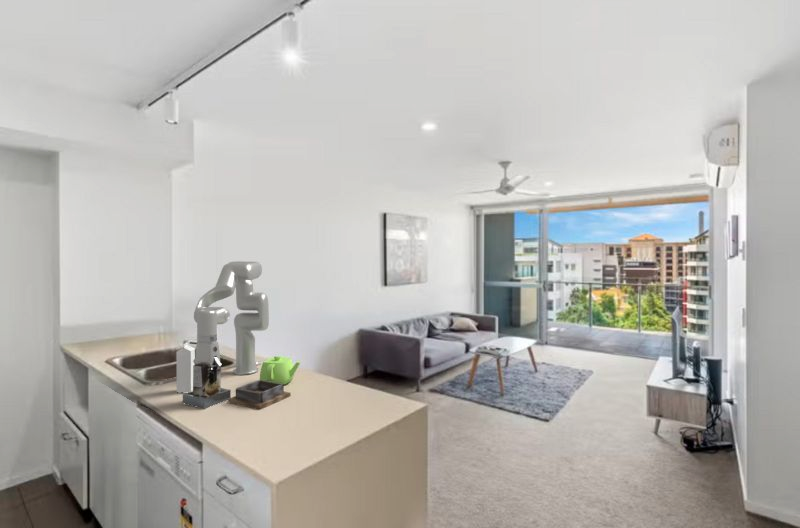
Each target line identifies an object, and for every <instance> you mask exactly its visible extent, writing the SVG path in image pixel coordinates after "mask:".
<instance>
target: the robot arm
mask: <svg viewBox="0 0 800 528" xmlns="http://www.w3.org/2000/svg"><path fill="white" fill-rule="evenodd" d="M262 271H263V266H262V264H261V263H260V262H259V261H242V260H240V261H239V260H238V261H230V262H228V263H226V264H224V265H223V266H222V269H221V271H220V274H219V276H218V278H217V282H216V284H215V286H214V287H213V288H212V289H210V290H208V291H207V292H205V293H204V294H203V295H202V296H201V297H199V300H198V302H197V304H196V306H195V309H194V313H193V320H194V322H195V323H196V347H195V359H194V360H193V362H194V364H195V365H196V364H202V365H208V367H210V374H209V382H210V383H213V382H216V381H217V372H218V370H219V368H220V367H222V363H220V362H221V355H220V354H221V353H220V352H221V351H220V345H219V342H218V341H217V340H218V335H217V331H218V326H217V325H223V324H225V323H227V322H228V321H229V319H230V316H231V313H230V311H229V309H228V308H227V307H223V306H211V305H212V304H214V303H216V302H219V301H221V300H224V299H226V298H227V299H228V298H229V297H231V296H233V294H234V293H235V300H236V301H235V302H236V308H237V309H238V310H240V311H249V312H240V313H237V314H236V315H235V316H234V319H233V324H234V330H235V368H234V369H233V370H232V374H233V375H237V376H243V375H244V376H247V375H252V374H255V373H257V372H258V371H259V367H258V366H260V365H261V366H262V361H261V360H260V361H256V337H255V335H254V334H253V332H257V331H258V332H260V331H261V332H262V331H266V330H267V329H268V328H269V324H270V323H269V321H270V320H269V318H270V317H269V315H270V314H269V313H270V312H269V298H268V295H267V294H266V293H264V292H255V291H254V284H253V280H256V279H258V278H260V276H261V275H262V273H263V272H262ZM251 311H252V312H251ZM253 311H256V312H253ZM212 364H214V365H212ZM212 367H214V369H212Z"/></svg>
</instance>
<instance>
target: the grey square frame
mask: <svg viewBox="0 0 800 528" xmlns="http://www.w3.org/2000/svg"><path fill="white" fill-rule="evenodd" d="M231 391H232V390H231V389H228V388H223V387H221V392H220V393H217V394H215V395H212V396H209V397H206V398H203V397H198V396H194V395H193V391H191V392H188V393H182V404H183V403H185V404H189V405H188V406H190V405H193V406H192V407H194V406H197V407H196V408H198V407H200V408H199V409H202V408H204V409H203V410H206V409H208V408H211V407H214V406H216V405H219V404H221V403H224V402H226V400H227V401H228V399H229V398H232V396H231V393H232V392H231ZM223 401H224V402H223ZM220 402H221V403H220ZM218 403H219V404H218ZM185 404H184V405H185ZM215 404H216V405H215ZM213 405H214V406H213ZM210 406H211V407H210ZM205 408H206V409H205Z"/></svg>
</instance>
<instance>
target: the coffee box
mask: <svg viewBox="0 0 800 528" xmlns="http://www.w3.org/2000/svg"><path fill="white" fill-rule="evenodd" d="M220 363H221V361H220ZM221 364H222V363H221ZM212 365H214V364H212ZM221 367H222V366H221ZM221 367H220V368H219V370H218V372H217V381H216V382H213V383H210V382H209V374H210V367H208V365H202V364H196V365H193V395H194V396H198V397H203V398H206V397H209V396H212V395H215V394H217V393H220V392H221V388H222V385H221V382H222V381H221V378H222V376H221V373H222V370H221V369H222V368H221ZM212 369H214V367H212Z"/></svg>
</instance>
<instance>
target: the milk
mask: <svg viewBox="0 0 800 528" xmlns="http://www.w3.org/2000/svg"><path fill="white" fill-rule="evenodd" d="M195 353H196V347H193V346H191V345H189V342H188V341H186V342H185V343H183V347H181V348H180V349H178V350H177V351H176V393H177V392H191V391H192V390H193V365H195V364H194V362H193V360H194V359H195Z"/></svg>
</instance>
